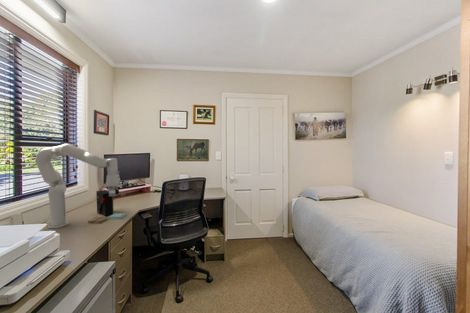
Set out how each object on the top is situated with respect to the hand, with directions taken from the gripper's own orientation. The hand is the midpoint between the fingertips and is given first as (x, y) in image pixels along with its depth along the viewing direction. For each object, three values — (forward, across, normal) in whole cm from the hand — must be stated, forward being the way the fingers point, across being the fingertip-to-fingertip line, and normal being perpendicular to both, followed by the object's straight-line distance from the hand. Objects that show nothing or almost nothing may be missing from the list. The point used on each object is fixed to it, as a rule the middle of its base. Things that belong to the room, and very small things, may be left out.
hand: (113, 194), depth 194 cm
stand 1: (+20, +10, +8) cm, 24 cm away
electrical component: (+20, +14, -12) cm, 27 cm away
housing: (+1, 0, 0) cm, 1 cm away
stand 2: (+20, -1, -2) cm, 20 cm away
